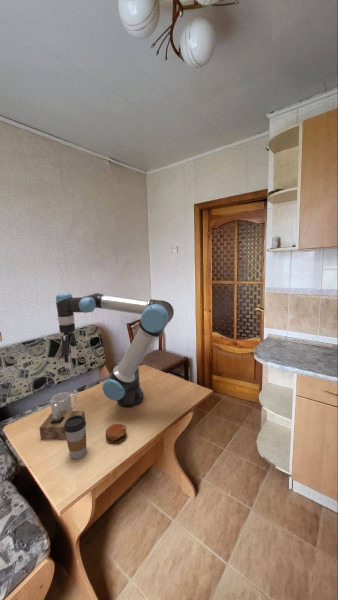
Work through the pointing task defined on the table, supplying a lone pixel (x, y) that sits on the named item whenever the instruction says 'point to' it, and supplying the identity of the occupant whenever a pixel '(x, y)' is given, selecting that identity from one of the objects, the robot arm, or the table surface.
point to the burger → (116, 433)
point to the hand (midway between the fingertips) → (71, 362)
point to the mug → (64, 401)
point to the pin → (56, 413)
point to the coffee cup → (76, 436)
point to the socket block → (57, 425)
